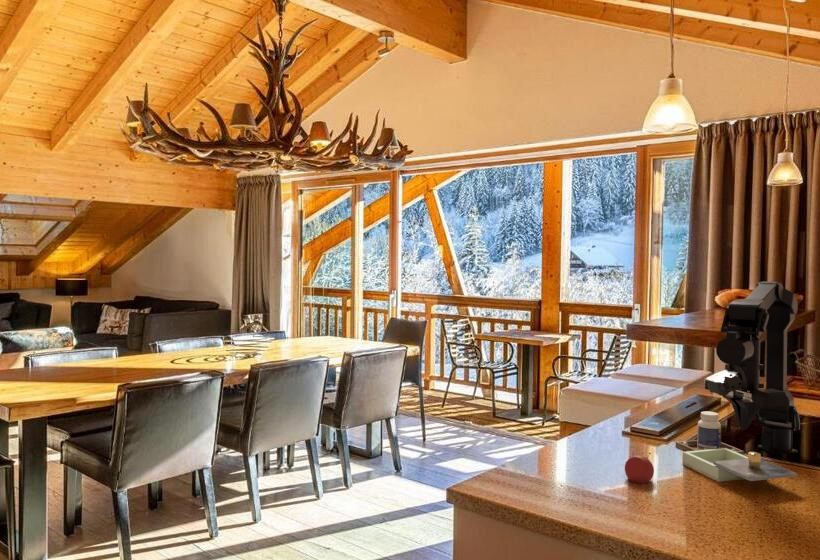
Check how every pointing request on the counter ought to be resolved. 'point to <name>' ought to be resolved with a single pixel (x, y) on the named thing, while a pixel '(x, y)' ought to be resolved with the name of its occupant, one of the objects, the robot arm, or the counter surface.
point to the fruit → (639, 469)
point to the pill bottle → (709, 431)
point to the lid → (754, 468)
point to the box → (705, 466)
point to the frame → (694, 442)
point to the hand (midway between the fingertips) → (743, 429)
